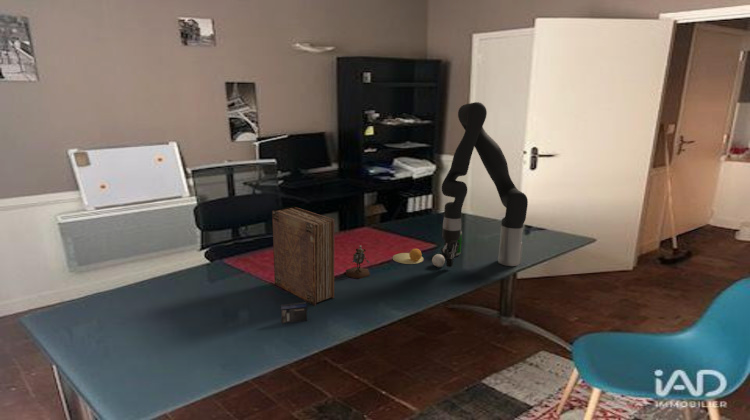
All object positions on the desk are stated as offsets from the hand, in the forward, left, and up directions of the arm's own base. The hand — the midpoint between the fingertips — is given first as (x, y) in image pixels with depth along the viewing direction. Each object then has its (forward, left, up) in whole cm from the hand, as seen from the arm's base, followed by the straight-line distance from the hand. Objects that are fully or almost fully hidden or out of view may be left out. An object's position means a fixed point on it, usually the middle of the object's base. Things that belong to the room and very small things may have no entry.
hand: (449, 266), depth 208 cm
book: (+64, -5, -2) cm, 64 cm away
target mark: (+9, -19, -2) cm, 21 cm away
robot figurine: (+38, -12, -2) cm, 40 cm away
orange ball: (+7, -16, +1) cm, 17 cm away
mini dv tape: (+75, +16, -2) cm, 76 cm away
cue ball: (+2, -5, +1) cm, 6 cm away
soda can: (-13, -15, -2) cm, 20 cm away
